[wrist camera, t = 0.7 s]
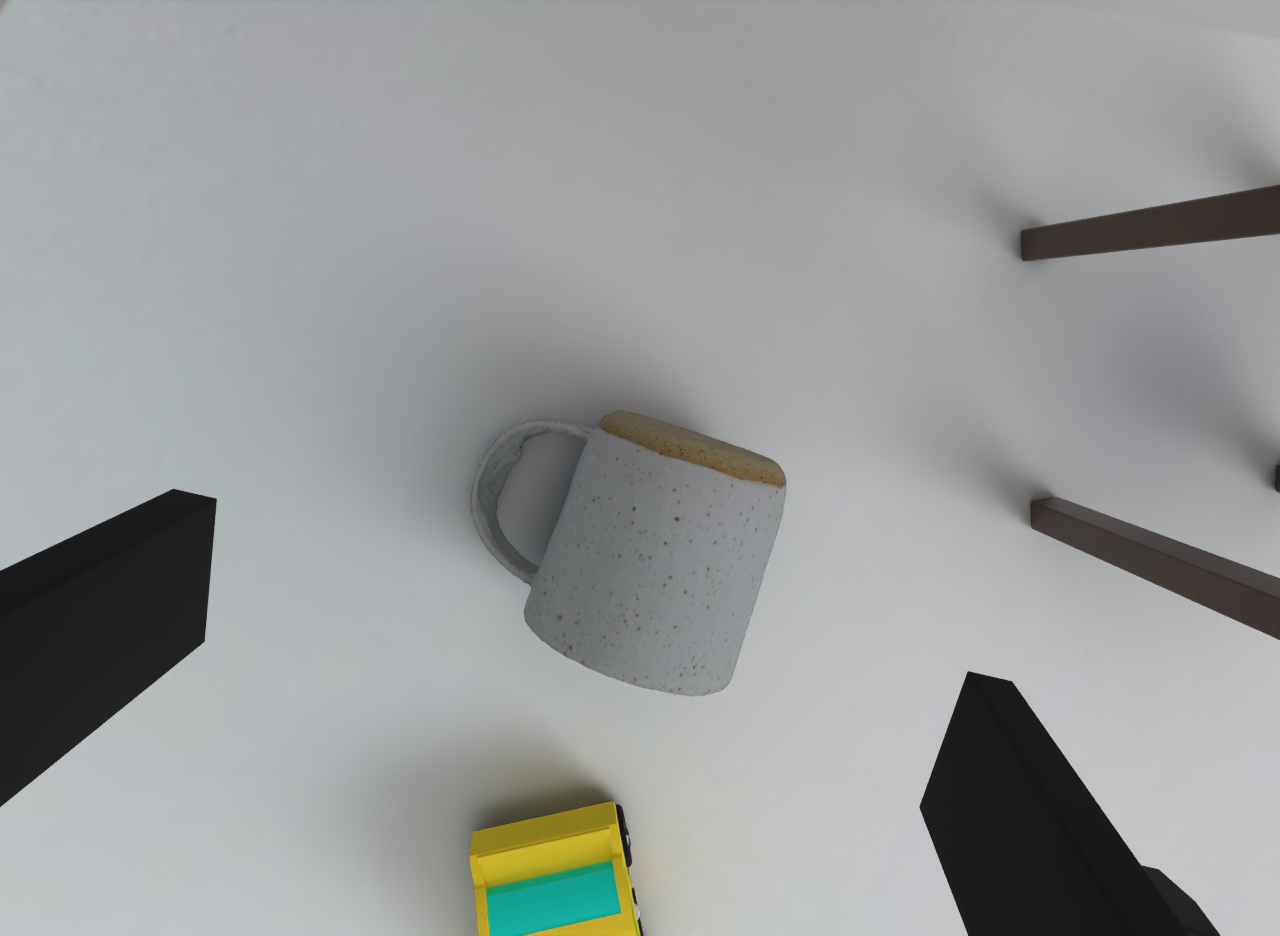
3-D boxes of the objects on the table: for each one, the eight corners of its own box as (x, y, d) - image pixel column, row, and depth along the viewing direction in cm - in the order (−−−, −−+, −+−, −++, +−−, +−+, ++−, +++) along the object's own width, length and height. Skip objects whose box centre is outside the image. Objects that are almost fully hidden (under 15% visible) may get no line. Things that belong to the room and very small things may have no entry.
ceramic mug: (771, 447, 34) (831, 484, 26) (707, 639, 35) (746, 727, 27) (509, 367, 32) (491, 382, 25) (451, 570, 33) (417, 642, 26)
